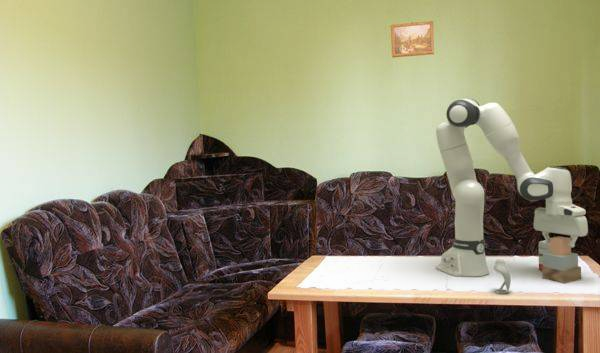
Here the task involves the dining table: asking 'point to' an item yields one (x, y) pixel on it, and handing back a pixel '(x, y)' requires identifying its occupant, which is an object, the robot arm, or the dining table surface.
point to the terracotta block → (560, 246)
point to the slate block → (560, 261)
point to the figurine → (503, 269)
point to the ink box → (543, 249)
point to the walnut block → (561, 274)
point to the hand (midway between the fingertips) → (559, 245)
